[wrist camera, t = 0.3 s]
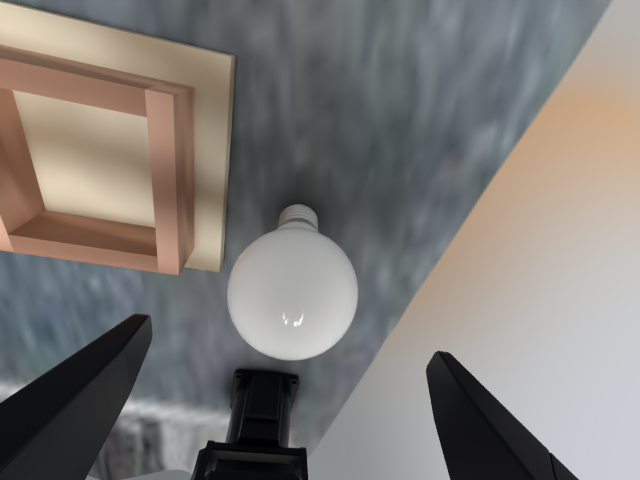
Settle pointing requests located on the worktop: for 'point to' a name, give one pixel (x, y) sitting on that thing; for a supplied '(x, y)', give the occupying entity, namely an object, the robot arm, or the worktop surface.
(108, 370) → the robot arm
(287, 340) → the lightbulb
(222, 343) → the worktop surface
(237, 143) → the worktop surface
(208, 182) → the holder
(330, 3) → the worktop surface
